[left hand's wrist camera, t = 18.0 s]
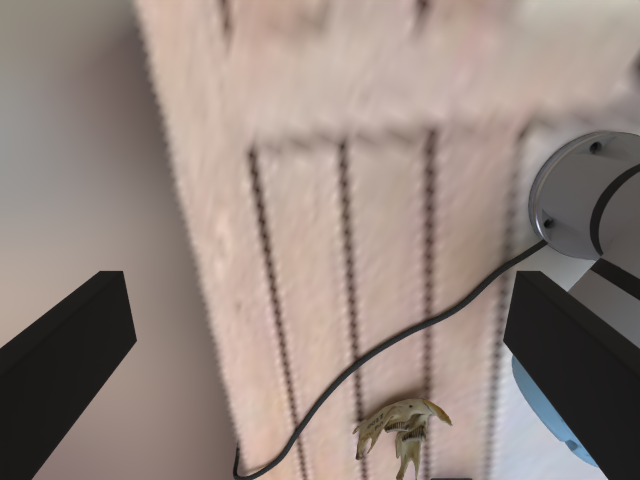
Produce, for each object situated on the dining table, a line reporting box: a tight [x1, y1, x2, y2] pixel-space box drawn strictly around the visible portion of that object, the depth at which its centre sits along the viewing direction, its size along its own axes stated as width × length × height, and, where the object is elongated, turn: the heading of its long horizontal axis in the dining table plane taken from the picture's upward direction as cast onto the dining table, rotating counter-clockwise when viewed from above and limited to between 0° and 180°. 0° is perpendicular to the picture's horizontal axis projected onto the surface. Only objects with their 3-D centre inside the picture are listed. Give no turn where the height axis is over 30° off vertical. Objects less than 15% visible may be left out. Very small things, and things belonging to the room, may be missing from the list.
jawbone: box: [352, 398, 453, 480], centre depth 54 cm, size 9×15×10 cm
